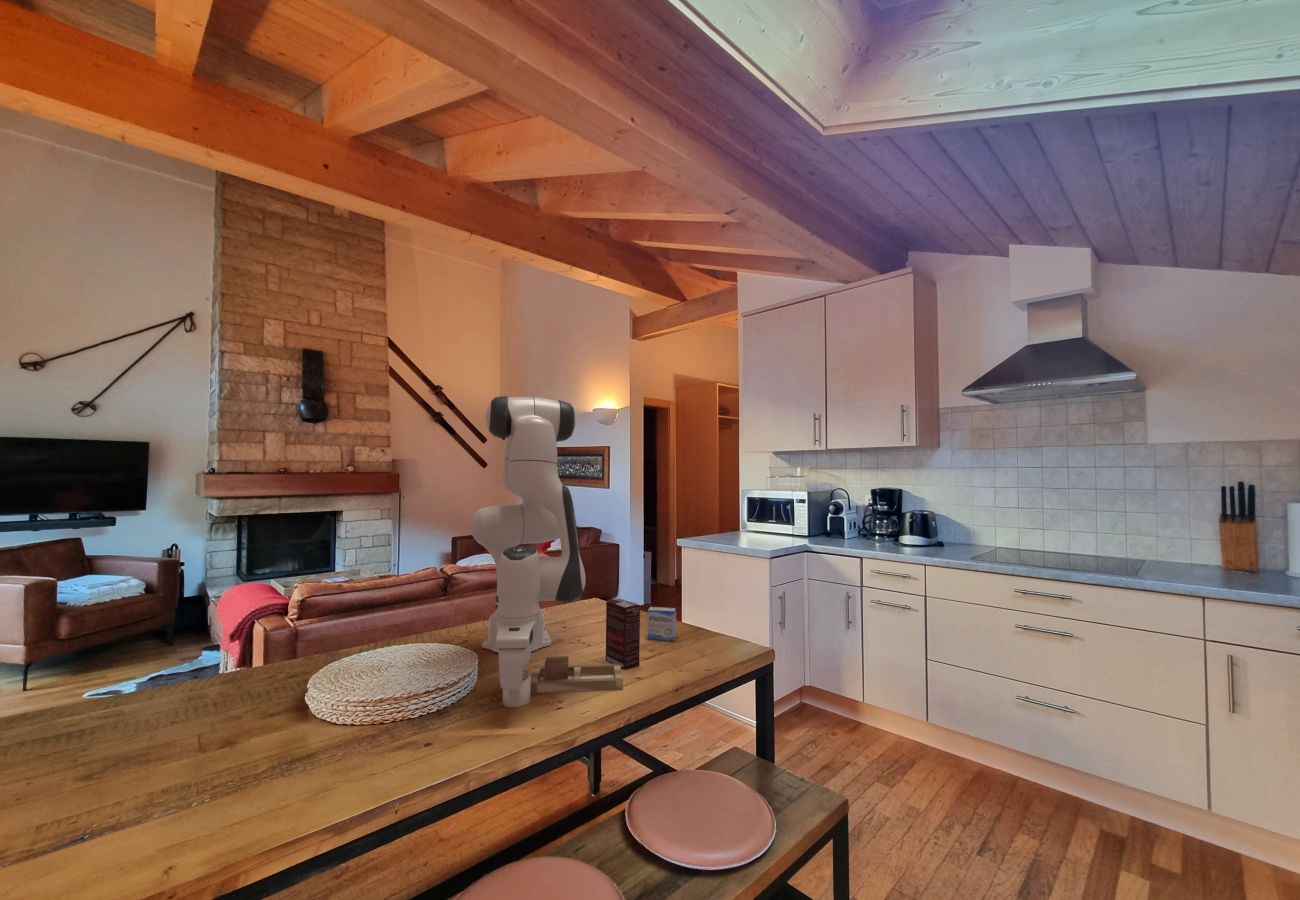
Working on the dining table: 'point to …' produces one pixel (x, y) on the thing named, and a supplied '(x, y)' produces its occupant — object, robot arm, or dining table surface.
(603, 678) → the organizer
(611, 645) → the supplement box
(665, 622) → the medicine box
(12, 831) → the dining table surface
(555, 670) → the walnut block
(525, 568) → the robot arm
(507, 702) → the cream ceramic jar
